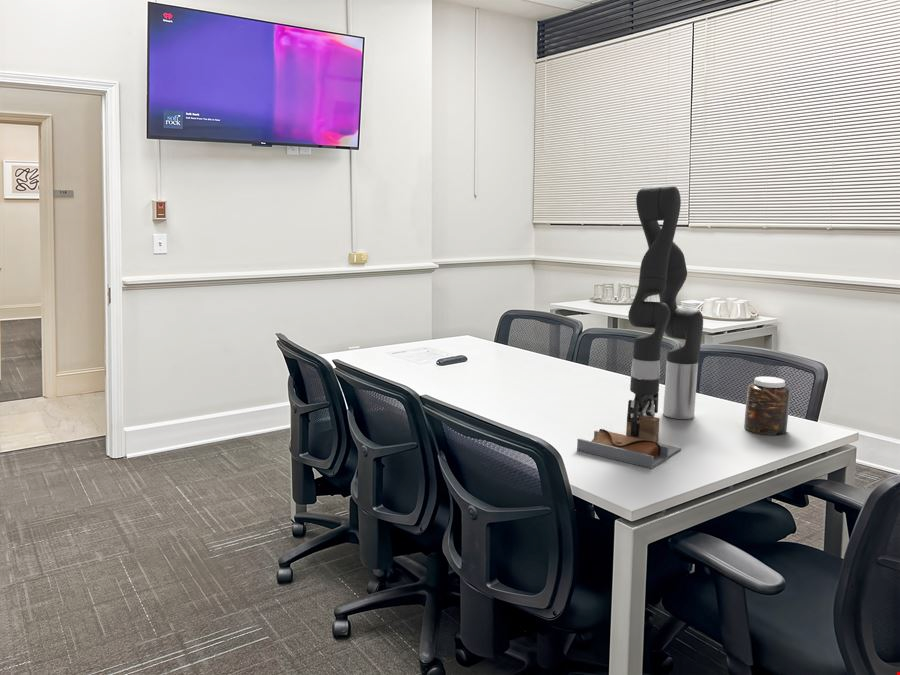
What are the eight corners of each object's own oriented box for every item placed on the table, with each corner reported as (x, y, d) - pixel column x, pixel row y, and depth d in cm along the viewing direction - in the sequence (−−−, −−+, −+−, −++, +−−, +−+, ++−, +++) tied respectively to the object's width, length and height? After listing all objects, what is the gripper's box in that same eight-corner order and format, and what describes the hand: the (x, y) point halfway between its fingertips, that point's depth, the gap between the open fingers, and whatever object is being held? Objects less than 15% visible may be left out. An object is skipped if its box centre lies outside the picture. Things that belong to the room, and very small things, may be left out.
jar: (794, 436, 211) (799, 384, 209) (753, 435, 211) (758, 384, 208) (776, 423, 223) (780, 375, 220) (737, 423, 223) (741, 374, 220)
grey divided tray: (609, 433, 211) (610, 408, 209) (681, 449, 198) (682, 422, 196) (576, 450, 196) (578, 422, 195) (651, 468, 184) (653, 439, 182)
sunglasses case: (583, 446, 196) (590, 423, 198) (593, 454, 201) (600, 430, 203) (646, 462, 185) (654, 437, 186) (656, 469, 190) (663, 445, 192)
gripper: (643, 368, 207) (640, 424, 210) (620, 377, 196) (617, 436, 199) (669, 373, 203) (665, 430, 206) (647, 381, 192) (643, 442, 195)
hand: (641, 433), depth 202 cm, fingers open, 8 cm apart
